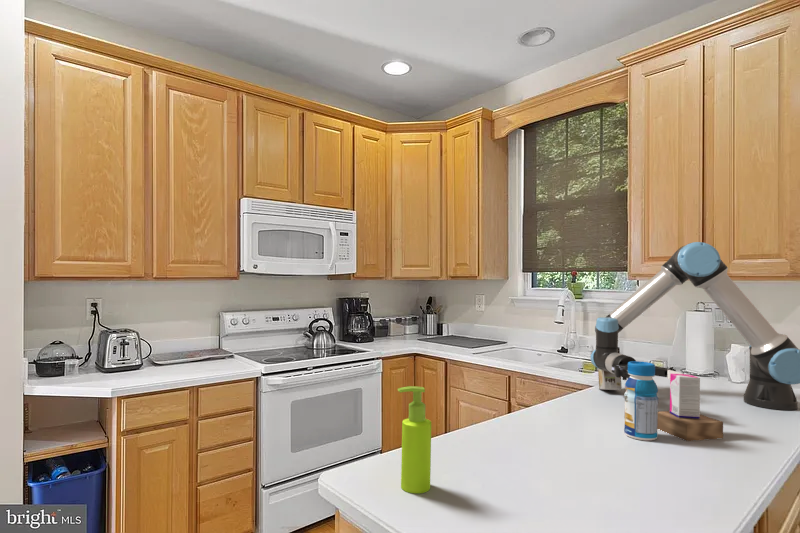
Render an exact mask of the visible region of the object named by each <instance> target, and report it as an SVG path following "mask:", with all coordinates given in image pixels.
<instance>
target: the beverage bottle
mask: <svg viewBox="0 0 800 533" xmlns="http://www.w3.org/2000/svg"><path fill="white" fill-rule="evenodd" d="M655 366H656V365H655V363H653V362H647V361H639V360H636V361H631V362H628V374H629V375H630V377H629V378H627V380H625V383H624V388H625V392H624V393H623V394H624V395H623V398H624V429H623V430H624V434H625V436H627V437H629V438H630V439H633V440H638V441H646V442H647V441H649V442H650V441H656V440H657V439H658V429H657V414H658V412H659V411H658V408H659V407H658V406H659V405H658V404H659V397H658V396H659V395H657V393H658V391H659V388H658V385H657V383H656V381H655V380H654V377H656V376H655Z"/></svg>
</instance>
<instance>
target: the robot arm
mask: <svg viewBox="0 0 800 533" xmlns="http://www.w3.org/2000/svg"><path fill="white" fill-rule="evenodd" d="M728 270H729V267H728V266H727V265H726V264H725V262H724V261H723V260H722V258H721V255H720V253H719V251H718V250H717V249H716V248H715V246H713V245H711V244H709V243H707V242H704V241H703V242H701V241H693V242H691V243H688V244H686V245H683V246H681V247H680V248H678V249H677V250H676V251H675V252H674V253H673V254H672V255H671V256H670V258H669V259H668V260H666V262H664V263H663V264H662V265H661V266H660V270H659V271H658V272H657V273H656V274H655V275H653V276H652V277H651V278H650V279H648V281H646V282H645V283H644V284H642V285H641V286H640V287H639V288H638V289H637V290H635V291H634V292H633V293H632V294H631V295H630V296H629V297H627V298H626V299H625V300H624V301H623V302H622V303H620V304H619V305H618V306H617V307H615V308H614V309H613V310H612V311H611V312H609V313H608V314H607V315H606V316H604V317H603V316H602V317H601V316H600V317H597V318H596V322H595V326H594V331H595V349H594V350H593V351H592V353H591V354H590V362H591V364H592V365H593V366H594V367H595V368H597V369H598V368H599V369H600V370H604V371H607V372H610V373H613V374H615V376H616V377H618V378H619V377H620V376H621V381H627V380H628V378H629V377H630V375H629V374H628V362H631V361H637V360H636V359H635V358H634V357H632V356H630V355H625V354H622V353H620V354H619V353H618V347H619V333H620V332H621V331H622V330H624V329H625V328H626V327H627V326H628V325H629V324H631V323H633V321H634V320H636V319H637V318H639V316H641V315H642V314H643V313H644V312H646V311H647V310H648V309H649V308H650V307H652V306H653V305H654V304H655V303H657V302H658V301H659V300H660V299H662V297H664V296H665V295H667V293H669V292H670V291H671V290H672V289H673V288H675V287H676V286H677V285H678V286H681V285H683V284H684V283H686V282H687V281H689V282H691V285H693V286H694V287H695V288H697V289H703V291H704V292H705V293H706V294H707V295H708V296H709V298H710V299H711V300H712V301H713V303H714V304H715V305H716V306H717V307H718V308H719V310H720V311H721V312H722V313H723V314H724V316H726V318H727V319H728V320H729V322H730V323H731V324H732V325H733V327H735V329H736V330H737V331H738V332H739V333H740V334H741V336H742V337H743V338H744V339H745V340H746V342H747V343H748V344H749V348H748V349H749V381H748V383H747V386H746V388H745V390H744V393H743V402H744V403H745V404H747V405H752V406H755V407H758V408H759V407H760V408H765V409H771V410H772V409H773V410H778V411H779V410H780V411H795V410H797V409H798V407H799V406H798V400H797V397H796V395H795V394H796V393H795V392H794V389H793V385H799V384H800V349H799V348H798V347H797V346H796V345H795V343H794V342H793V341H792V340H791V339H790V338H789V337H788V335H786V334H783V333H779V332H777V330H776V329H775V328H774V327H773V326H772V325H771V323H769V321H768V320H767V319H766V318H765V317H764V316H763V314H762V313H761V312H760V311H759V310H758V308H757V307H756V306H755V305H754V304H753V303H752V302H751V301H750V299H749V298H748V297H747V296H746V295H745V293H744V292H743V291H742V290H741V289H740V287H739V286H737V284H736V282H734V281H733V280H732V278H731V277H730V276H729V275H728ZM670 374H684V373H682V372H679V371H677V370H676V369H675V368H673V367H669V368H668V367H662V366H657V365H655V376H654V377H662V378H667V379H668V380H670Z"/></svg>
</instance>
